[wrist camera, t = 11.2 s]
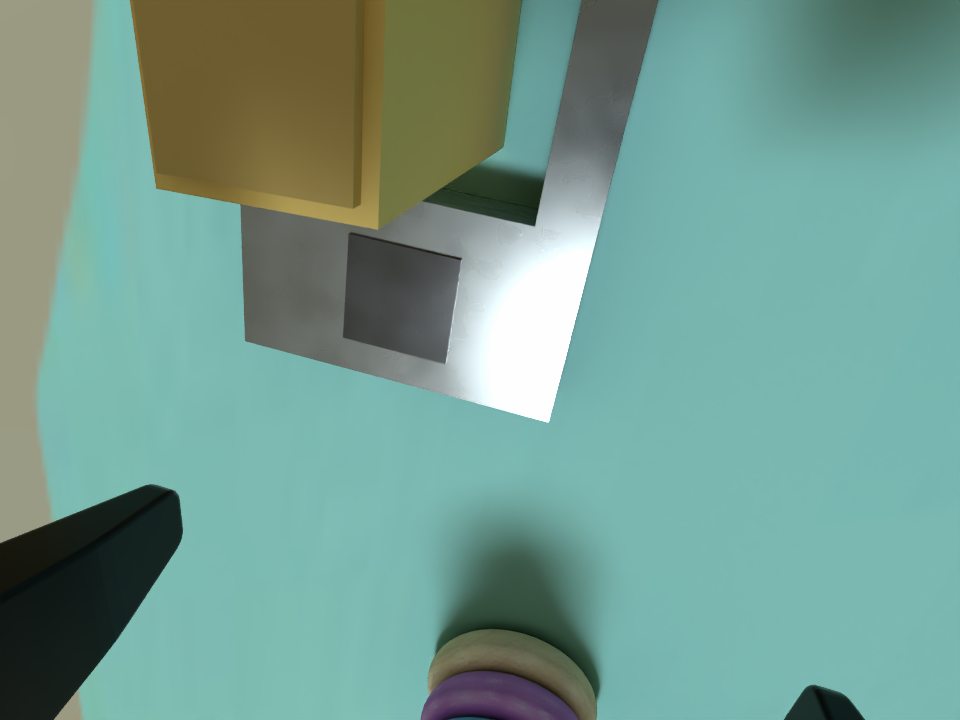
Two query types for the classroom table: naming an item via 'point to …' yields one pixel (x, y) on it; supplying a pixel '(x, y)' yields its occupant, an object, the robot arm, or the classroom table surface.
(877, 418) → the classroom table surface
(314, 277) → the grey metal flat frame
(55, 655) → the robot arm
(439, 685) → the stacking toy
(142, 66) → the yellow square block
